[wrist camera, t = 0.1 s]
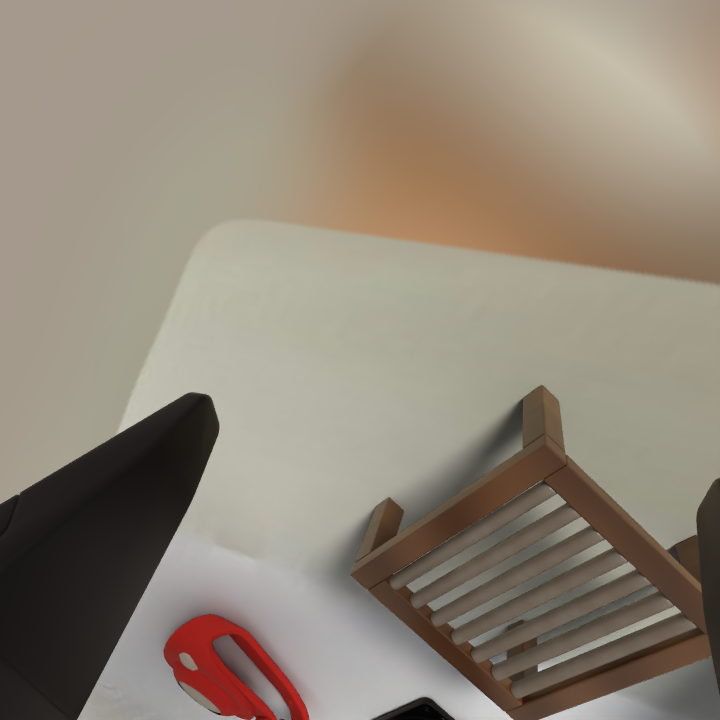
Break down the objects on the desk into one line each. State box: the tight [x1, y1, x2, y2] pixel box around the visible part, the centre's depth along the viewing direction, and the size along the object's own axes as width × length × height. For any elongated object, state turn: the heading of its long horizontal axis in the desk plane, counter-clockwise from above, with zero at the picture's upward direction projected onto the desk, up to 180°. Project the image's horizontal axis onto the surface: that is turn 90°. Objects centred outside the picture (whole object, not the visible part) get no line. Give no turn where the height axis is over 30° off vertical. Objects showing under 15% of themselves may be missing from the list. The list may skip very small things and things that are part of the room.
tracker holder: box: [164, 614, 309, 720], centre depth 39 cm, size 12×4×10 cm
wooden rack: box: [351, 385, 712, 720], centre depth 26 cm, size 12×12×5 cm
